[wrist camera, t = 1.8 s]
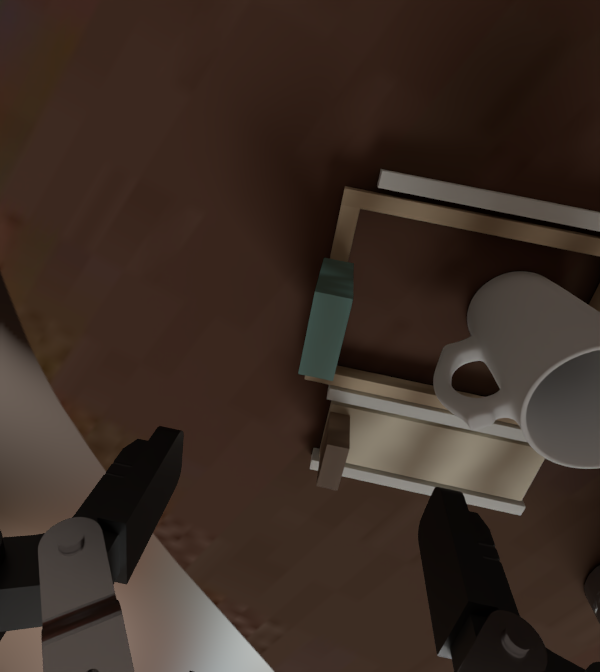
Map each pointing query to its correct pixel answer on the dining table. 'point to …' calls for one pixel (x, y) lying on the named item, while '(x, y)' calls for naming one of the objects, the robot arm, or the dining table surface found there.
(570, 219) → the lane rails
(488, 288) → the mug
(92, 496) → the robot arm
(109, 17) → the dining table surface
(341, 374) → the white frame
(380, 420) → the plain strip
